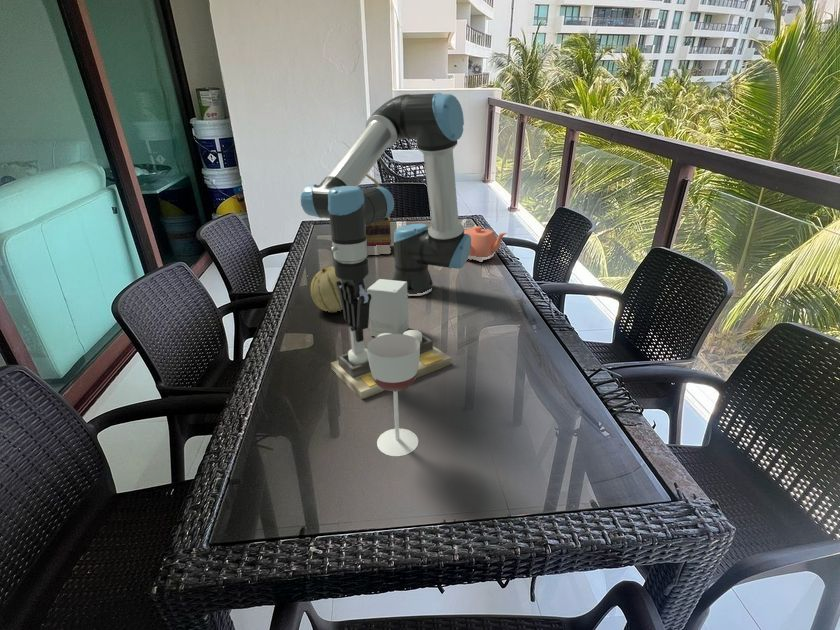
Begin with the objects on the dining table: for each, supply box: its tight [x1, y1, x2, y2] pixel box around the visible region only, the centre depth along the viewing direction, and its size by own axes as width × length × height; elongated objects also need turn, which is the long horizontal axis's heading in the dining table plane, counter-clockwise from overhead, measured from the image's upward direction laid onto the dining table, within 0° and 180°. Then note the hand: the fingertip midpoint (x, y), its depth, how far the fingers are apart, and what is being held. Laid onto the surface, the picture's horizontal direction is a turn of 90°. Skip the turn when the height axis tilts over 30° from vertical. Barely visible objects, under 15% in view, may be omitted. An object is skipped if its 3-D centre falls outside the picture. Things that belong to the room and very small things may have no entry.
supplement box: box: [366, 278, 410, 337], centre depth 133 cm, size 9×9×15 cm
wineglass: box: [366, 334, 420, 457], centre depth 87 cm, size 9×10×22 cm
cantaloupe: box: [310, 266, 343, 313], centre depth 147 cm, size 15×15×15 cm
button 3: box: [403, 329, 423, 344], centre depth 122 cm, size 5×5×4 cm
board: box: [330, 334, 452, 400], centre depth 117 cm, size 16×26×4 cm, turn 125°
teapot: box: [464, 225, 508, 257], centre depth 194 cm, size 18×18×14 cm
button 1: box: [347, 347, 369, 367], centre depth 114 cm, size 5×5×4 cm
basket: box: [328, 173, 392, 247], centre depth 202 cm, size 26×15×35 cm, turn 97°
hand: (358, 350), depth 113 cm, fingers closed
